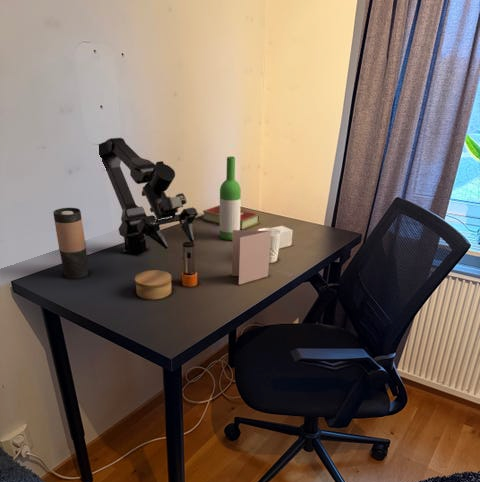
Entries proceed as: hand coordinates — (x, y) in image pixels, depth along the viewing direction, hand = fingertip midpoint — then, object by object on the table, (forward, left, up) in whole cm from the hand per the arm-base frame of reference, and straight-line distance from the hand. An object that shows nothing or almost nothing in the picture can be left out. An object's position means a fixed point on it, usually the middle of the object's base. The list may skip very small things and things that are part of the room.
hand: (180, 244), depth 132 cm
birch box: (-3, -11, -11) cm, 16 cm away
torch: (+4, -2, -11) cm, 12 cm away
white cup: (+20, +26, -11) cm, 34 cm away
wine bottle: (0, +41, -11) cm, 42 cm away
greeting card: (+20, +8, -11) cm, 24 cm away
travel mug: (-31, -10, -11) cm, 35 cm away
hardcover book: (-7, +60, -11) cm, 61 cm away
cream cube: (+20, +42, -11) cm, 48 cm away
